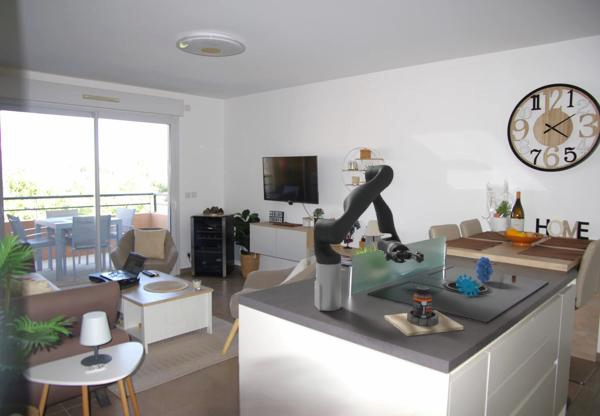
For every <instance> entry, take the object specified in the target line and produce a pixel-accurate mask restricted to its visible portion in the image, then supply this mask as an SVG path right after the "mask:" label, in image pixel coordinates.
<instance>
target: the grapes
mask: <svg viewBox="0 0 600 416" xmlns="http://www.w3.org/2000/svg"><path fill="white" fill-rule="evenodd" d="M490 260H491V259H489V257H485V256H481V257H480V258H479V260H477V262H476V265H477V267H476V268H475V269H474V270H475V272H476V273H477V274H476V278H477V279H478V280H479V281H480V282H481V283H482V284H483V283H486V282H488V281H489V280H490V279H491V278H490V276H491V275H493V273H494V269H493V265H492V263H491V261H490Z"/></svg>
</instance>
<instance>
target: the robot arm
mask: <svg viewBox="0 0 600 416" xmlns="http://www.w3.org/2000/svg"><path fill="white" fill-rule="evenodd" d="M394 174H395V173H394V170H393V167H392V166H390V165H389V164H378V165H377V164H376V165H370V166H368V167H366V169H365V172H364V178H365V179H364V180H365V183H362V184H360V185H359V186H356V187H355V188H354V189H352V190H351V191H350V192H349V194H348V195H346V196H345V198H344V200H343V214H342V215H340V217H339V218H337V219H334V218H324V217H323V218H319V219H317V220H316V222H315V224H314V226H313V249H314V251H313V253H314V255H315V275H316V276H315V280H314V307H315V308H316V309H317V310H318V311H319V312H320V311H325V312H333V311H338V310H340V309H341V308H342V255H341V254H340V253H339V252H338V251H336V250H335V249H334V248H332V246H337V245H341V244H342V243H343V242H344V241H345V240H346V238H347V236H348V235H349V233H350V232H351V230H352V229H353V227H354V225H355V224H356V222H358V220H359V219H360V218H361V216H362V215H363V214H364V213H365V212H366V211H367V209H368V208H369V207H370V206H371V204H372V205H373V209H374V211H375V216H376V222H377V226H378V227H377V228H378V232H379V233H380V234H387V235H389V234H390V235H391V236H388V237H387V236H386V237H382V238H380V239H378V241H377V243H376V247H377V250H378V251H379V250H382V251H384V254H385V255H384V259H385V261H387V262H390V261H392V262H394V263H395V264H403V263H406V262H417V263H418V264H421V263H422V262H424V261H425V259H424V258H425V255H424V253H422V252H420V251H416V252H413V251H411V250H410V249H409V247H408V246H407V245H406V244H404V243H402V241H401V239H400V237H399V235H398V232H397V230H396V226H395V220H394V215H393V211H392V210H391V208H390V206H389V205H388V203H387V202H386V201H385V199H384V198H383V196H382V195H381V193H382V192H384V191H385V190H386V189H387V188H388V187H389V186H390V185H391V184H392V182H393V181H394Z"/></svg>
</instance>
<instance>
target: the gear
mask: <svg viewBox="0 0 600 416" xmlns="http://www.w3.org/2000/svg"><path fill="white" fill-rule="evenodd" d="M467 277H468V278H467ZM472 279H473V277H472V276H471V275H469V276H467V274H465V273H464V274H463V275H462V274H460V275H458V278H456V279H455V282H457V283H455V287H458V292H461V293H462V294H463V295H464V296H467V295H468V297H469V298H472V297H473V296H474V297H477V296H478V294H479V293H480V288H481V287H482V284H481V283H478V284H477V280H476V279H474V280H472ZM468 293H469V294H468Z"/></svg>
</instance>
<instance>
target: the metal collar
mask: <svg viewBox="0 0 600 416" xmlns="http://www.w3.org/2000/svg"><path fill="white" fill-rule="evenodd" d="M406 313H407V321H408V322H409V323H411V324H414V325H417V326H425V327H429V326H435V325H437V324H438V318H439V316H438V313H436V312H435V311H433V310H432V309H431V318H420V317H416V316H413V308H410V309H408V310H407V312H406Z"/></svg>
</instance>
